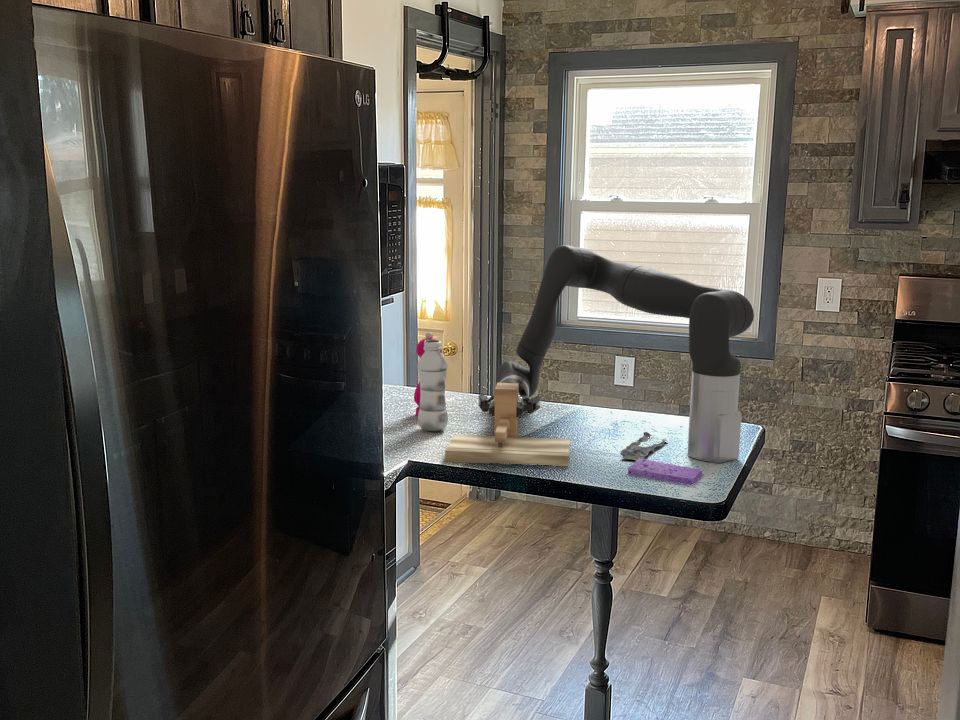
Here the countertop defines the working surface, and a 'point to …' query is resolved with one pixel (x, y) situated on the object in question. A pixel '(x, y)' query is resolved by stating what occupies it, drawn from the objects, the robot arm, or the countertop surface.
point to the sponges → (664, 471)
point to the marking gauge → (505, 412)
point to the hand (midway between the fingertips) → (505, 412)
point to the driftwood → (639, 448)
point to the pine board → (508, 450)
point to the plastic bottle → (432, 387)
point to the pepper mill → (420, 352)
